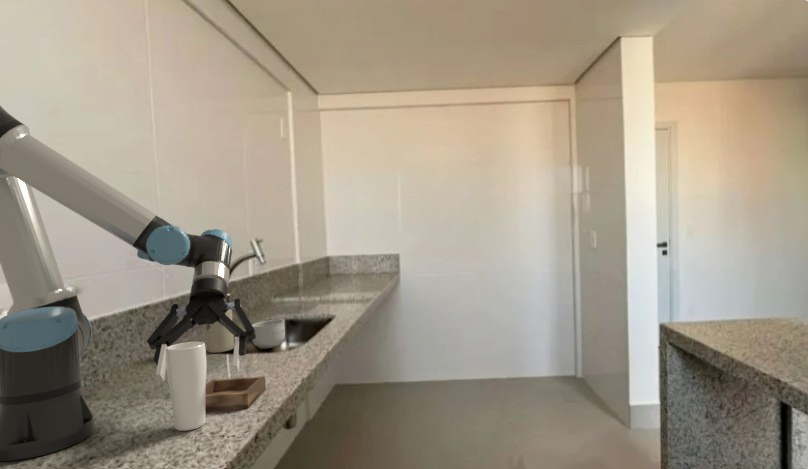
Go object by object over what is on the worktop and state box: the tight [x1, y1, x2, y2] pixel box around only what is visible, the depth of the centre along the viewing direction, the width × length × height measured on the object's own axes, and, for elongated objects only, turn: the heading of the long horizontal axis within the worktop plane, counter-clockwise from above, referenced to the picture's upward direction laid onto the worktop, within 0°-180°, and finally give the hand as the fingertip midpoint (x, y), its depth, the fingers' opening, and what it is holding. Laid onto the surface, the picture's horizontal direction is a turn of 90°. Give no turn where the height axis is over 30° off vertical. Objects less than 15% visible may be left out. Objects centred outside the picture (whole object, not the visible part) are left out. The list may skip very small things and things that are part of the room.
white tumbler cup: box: [166, 341, 208, 432], centre depth 87 cm, size 7×7×15 cm
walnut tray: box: [205, 375, 267, 412], centre depth 101 cm, size 12×12×3 cm
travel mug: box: [205, 293, 235, 354], centre depth 153 cm, size 8×8×18 cm
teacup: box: [251, 319, 286, 350], centre depth 156 cm, size 14×11×8 cm
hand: (198, 374), depth 89 cm, fingers open, 13 cm apart
